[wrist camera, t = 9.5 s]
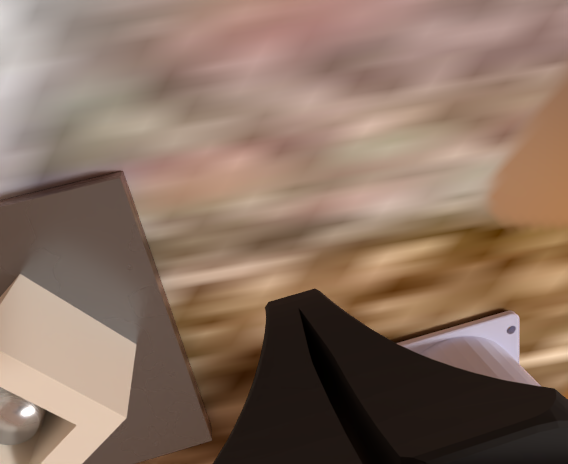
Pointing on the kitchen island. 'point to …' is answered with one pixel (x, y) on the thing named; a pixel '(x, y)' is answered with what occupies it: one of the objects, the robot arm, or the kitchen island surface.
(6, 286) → the flat plate
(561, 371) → the kitchen island surface
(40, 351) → the block
